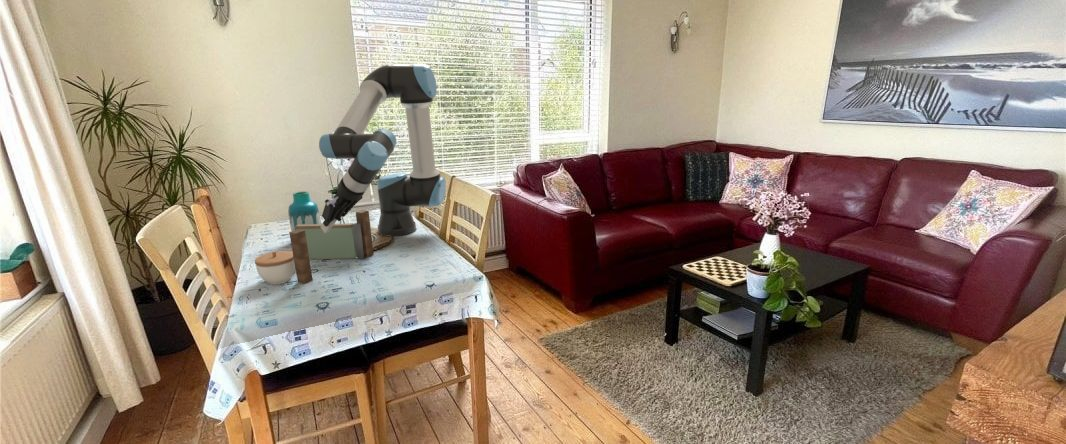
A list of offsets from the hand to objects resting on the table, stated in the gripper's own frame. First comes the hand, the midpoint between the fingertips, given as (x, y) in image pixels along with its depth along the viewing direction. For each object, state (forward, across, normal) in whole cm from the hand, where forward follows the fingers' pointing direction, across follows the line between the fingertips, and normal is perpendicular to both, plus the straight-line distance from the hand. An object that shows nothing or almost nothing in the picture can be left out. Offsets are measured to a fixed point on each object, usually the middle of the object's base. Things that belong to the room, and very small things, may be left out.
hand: (324, 229), depth 151 cm
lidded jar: (+11, +16, +7) cm, 21 cm away
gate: (+11, -4, +6) cm, 13 cm away
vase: (+29, -13, -11) cm, 33 cm away
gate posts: (+5, +1, +12) cm, 13 cm away
